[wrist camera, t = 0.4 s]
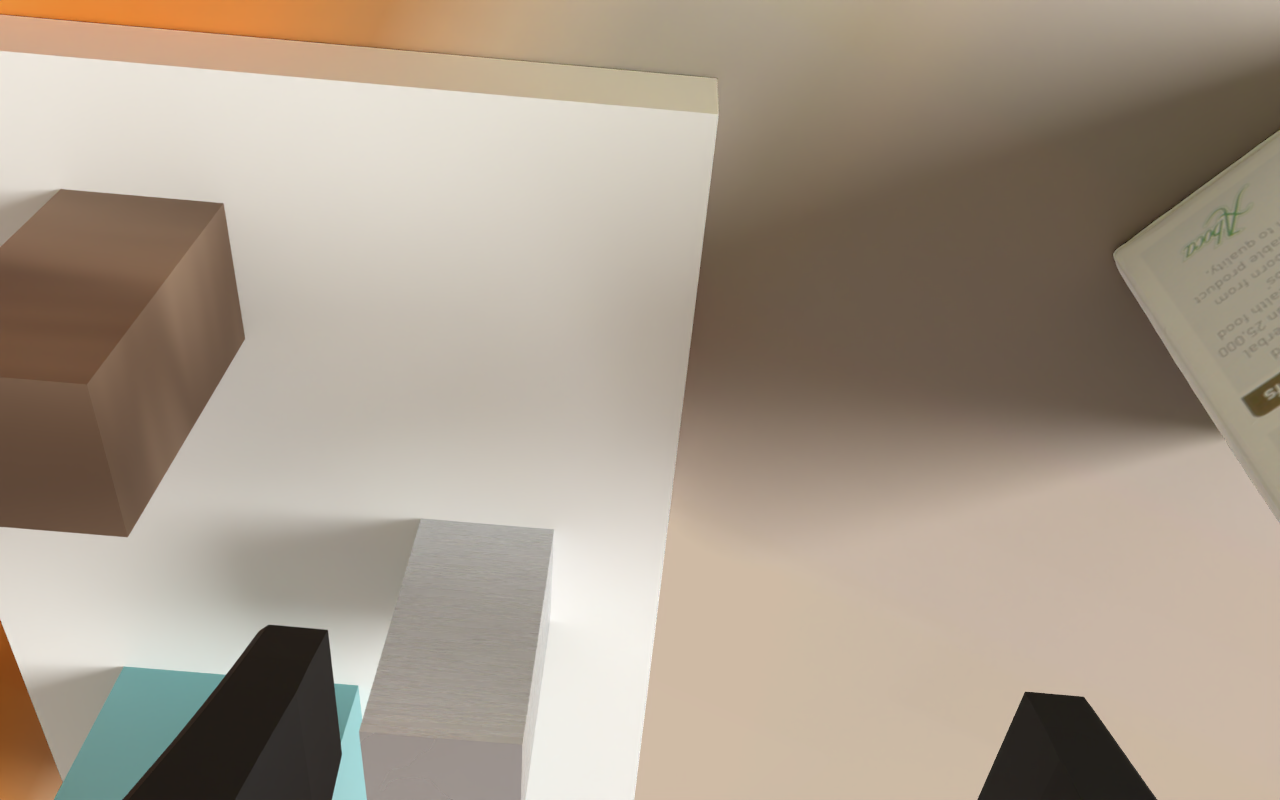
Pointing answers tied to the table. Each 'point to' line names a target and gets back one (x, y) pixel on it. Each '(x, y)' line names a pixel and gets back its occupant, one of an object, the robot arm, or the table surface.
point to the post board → (380, 354)
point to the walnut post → (108, 353)
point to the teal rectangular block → (176, 733)
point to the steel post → (461, 666)
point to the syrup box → (1222, 303)
